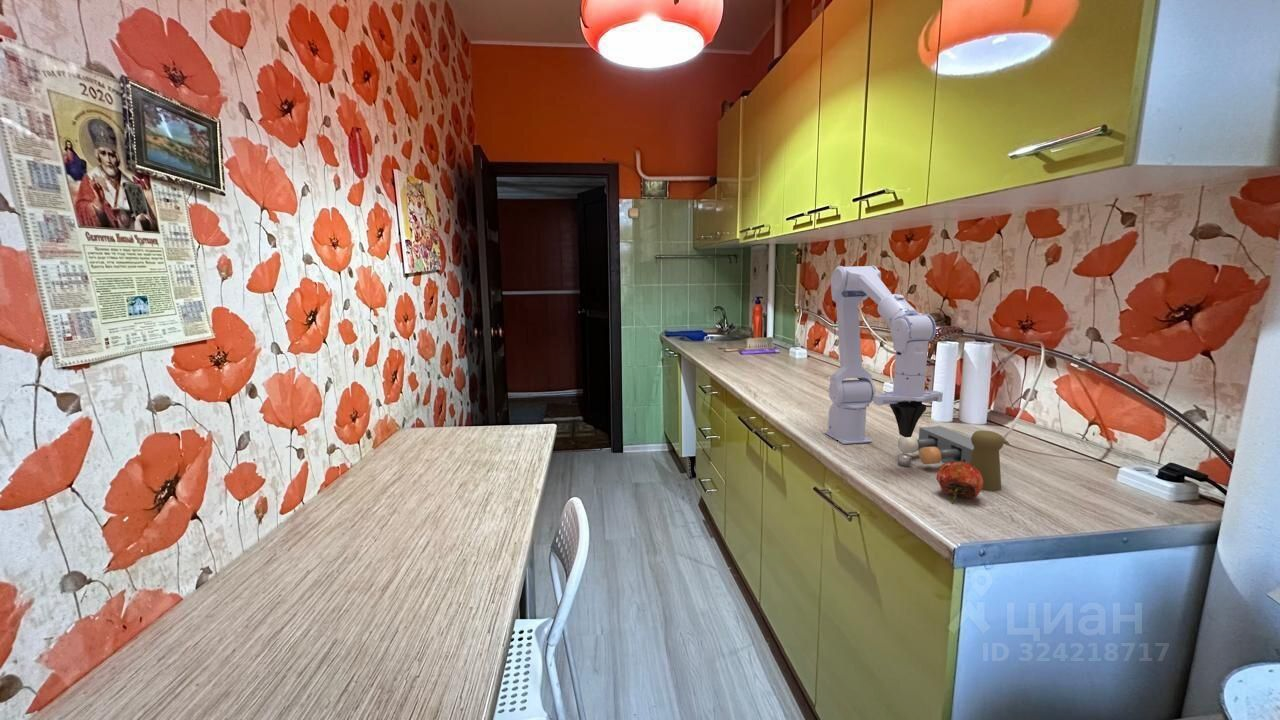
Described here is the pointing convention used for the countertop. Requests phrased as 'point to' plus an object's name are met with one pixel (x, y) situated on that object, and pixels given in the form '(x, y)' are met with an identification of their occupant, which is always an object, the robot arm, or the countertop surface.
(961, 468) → the pomegranate
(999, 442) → the cork
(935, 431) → the mount
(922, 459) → the orange knob
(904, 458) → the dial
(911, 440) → the cream knob
